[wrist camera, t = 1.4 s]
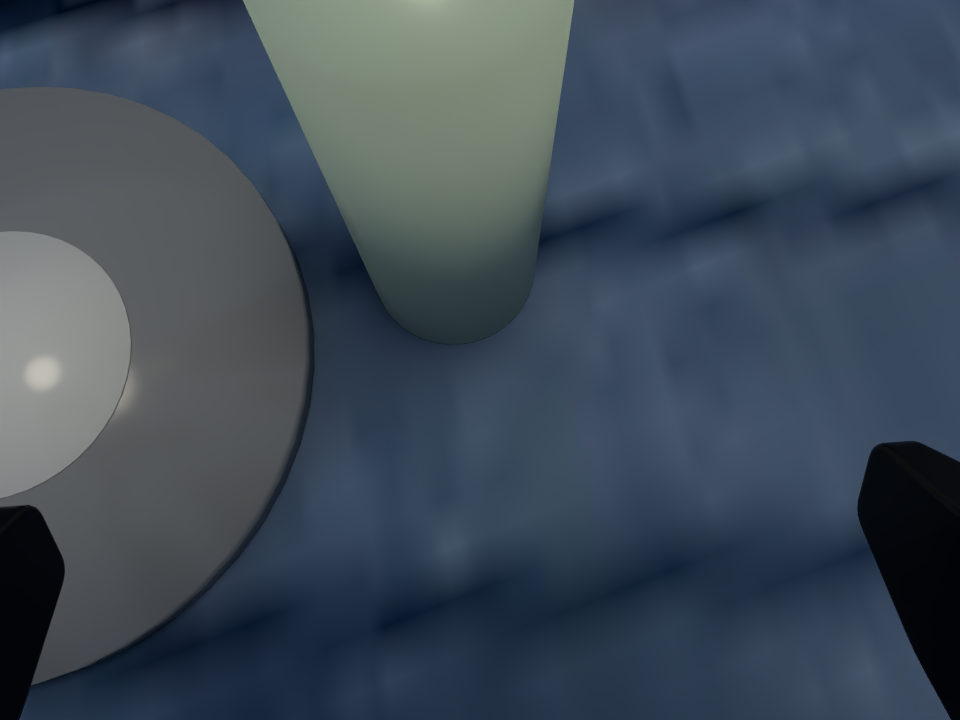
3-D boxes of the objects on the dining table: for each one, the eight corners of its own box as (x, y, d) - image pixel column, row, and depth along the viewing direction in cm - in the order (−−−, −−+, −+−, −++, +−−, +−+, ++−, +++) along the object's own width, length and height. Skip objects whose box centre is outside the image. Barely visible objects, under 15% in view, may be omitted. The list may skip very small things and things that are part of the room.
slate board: (137, 802, 20) (112, 819, 18) (-406, 538, 22) (-462, 537, 20) (408, 217, 24) (403, 199, 22) (-72, 39, 25) (-101, 13, 24)
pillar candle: (498, 368, 22) (505, 100, 9) (347, 310, 23) (141, -26, 9) (557, 225, 23) (641, -203, 10) (412, 172, 24) (308, -301, 11)
